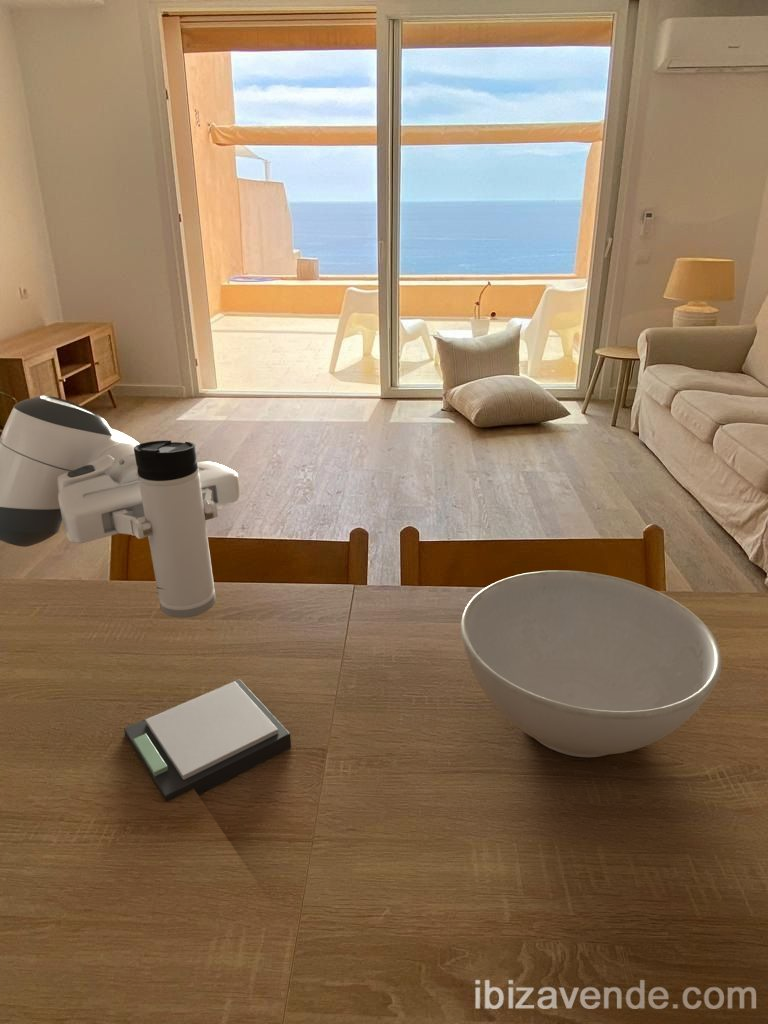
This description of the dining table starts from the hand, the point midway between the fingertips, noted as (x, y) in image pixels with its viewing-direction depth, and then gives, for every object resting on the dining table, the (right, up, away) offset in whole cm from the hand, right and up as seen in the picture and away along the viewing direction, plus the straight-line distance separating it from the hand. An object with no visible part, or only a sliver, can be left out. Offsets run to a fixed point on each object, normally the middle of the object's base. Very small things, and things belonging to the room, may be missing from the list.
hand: (178, 521), depth 75 cm
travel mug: (0, -10, +5) cm, 11 cm away
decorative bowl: (+44, -23, +4) cm, 50 cm away
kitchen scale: (+3, -25, +1) cm, 25 cm away
